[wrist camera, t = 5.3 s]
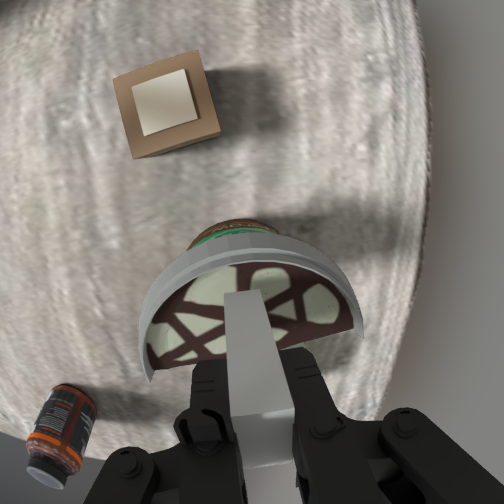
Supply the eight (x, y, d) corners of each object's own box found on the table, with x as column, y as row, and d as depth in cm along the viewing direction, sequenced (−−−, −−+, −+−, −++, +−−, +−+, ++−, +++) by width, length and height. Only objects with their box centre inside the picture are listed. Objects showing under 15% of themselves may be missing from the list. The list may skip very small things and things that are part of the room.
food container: (307, 188, 22) (371, 219, 12) (317, 265, 24) (373, 335, 14) (142, 223, 21) (91, 279, 12) (165, 297, 23) (139, 384, 14)
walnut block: (135, 93, 18) (111, 78, 13) (202, 71, 18) (197, 48, 13) (152, 157, 20) (132, 159, 15) (220, 135, 20) (220, 130, 15)
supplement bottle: (42, 384, 25) (5, 457, 15) (78, 379, 25) (42, 463, 15) (71, 419, 27) (45, 491, 17) (107, 416, 27) (85, 497, 17)
